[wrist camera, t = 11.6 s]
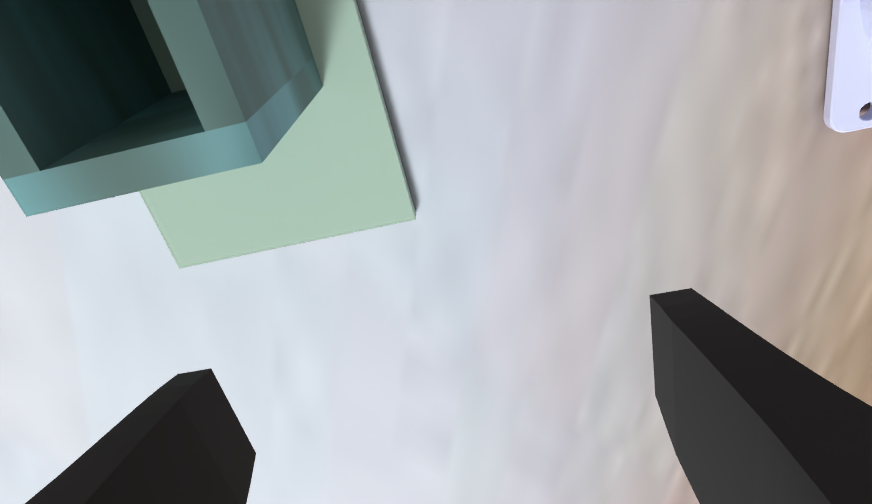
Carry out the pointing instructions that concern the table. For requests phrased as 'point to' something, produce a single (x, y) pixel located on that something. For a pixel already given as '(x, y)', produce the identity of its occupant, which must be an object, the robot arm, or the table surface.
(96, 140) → the collar
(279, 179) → the end mat
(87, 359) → the table surface
